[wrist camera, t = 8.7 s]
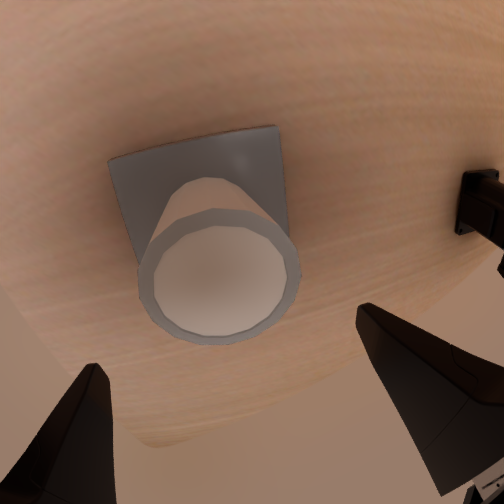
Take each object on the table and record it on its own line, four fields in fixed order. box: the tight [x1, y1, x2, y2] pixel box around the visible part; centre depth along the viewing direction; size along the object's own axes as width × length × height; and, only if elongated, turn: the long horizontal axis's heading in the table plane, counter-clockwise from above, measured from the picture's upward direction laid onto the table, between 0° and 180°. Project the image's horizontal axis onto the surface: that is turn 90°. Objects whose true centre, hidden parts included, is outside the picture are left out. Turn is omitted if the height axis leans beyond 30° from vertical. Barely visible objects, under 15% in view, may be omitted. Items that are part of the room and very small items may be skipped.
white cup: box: [138, 177, 302, 345], centre depth 15 cm, size 7×7×7 cm
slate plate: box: [107, 125, 289, 265], centre depth 18 cm, size 10×10×1 cm
